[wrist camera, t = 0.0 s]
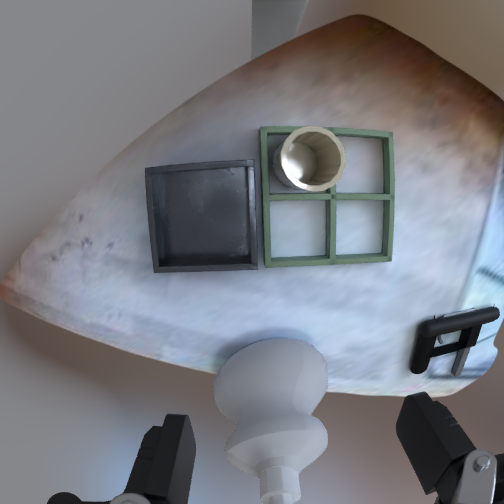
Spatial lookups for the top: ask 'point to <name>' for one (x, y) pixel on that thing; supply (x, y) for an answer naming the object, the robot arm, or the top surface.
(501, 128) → the top surface
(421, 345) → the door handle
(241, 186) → the black tray
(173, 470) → the robot arm
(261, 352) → the soap bottle
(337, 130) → the green divided tray
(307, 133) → the cup
